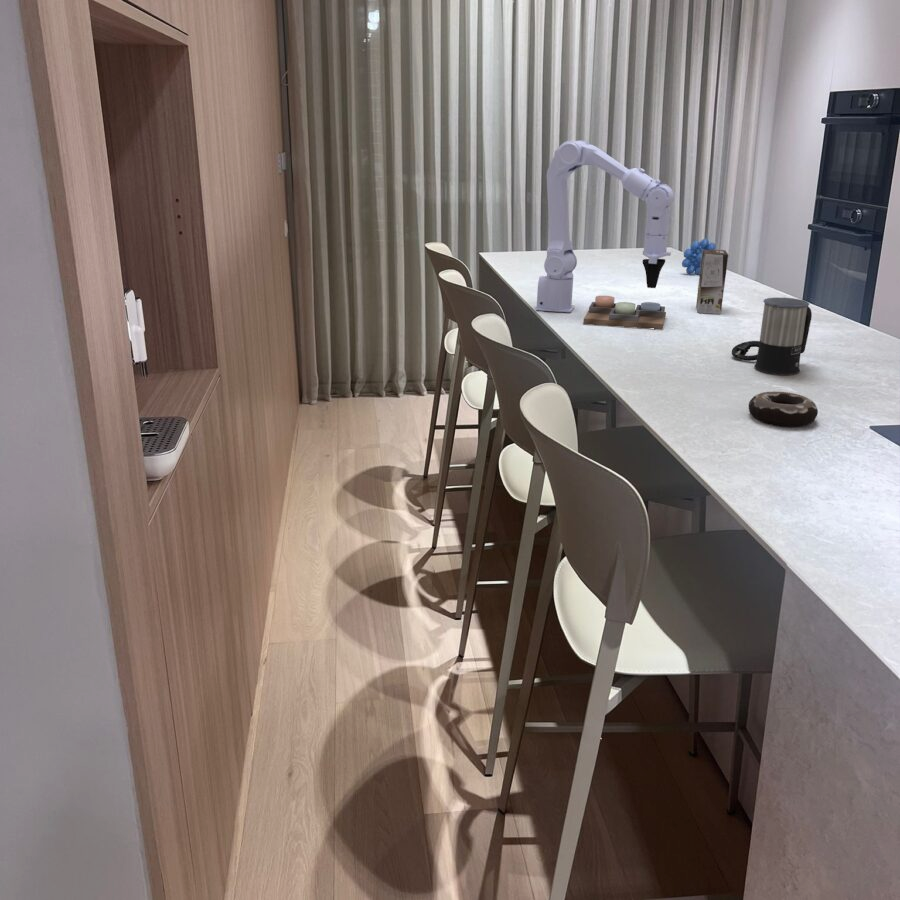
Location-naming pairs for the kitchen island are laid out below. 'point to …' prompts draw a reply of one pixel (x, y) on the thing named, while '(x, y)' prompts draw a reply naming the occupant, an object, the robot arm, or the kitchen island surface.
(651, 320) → the panel
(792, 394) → the donut
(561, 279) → the robot arm
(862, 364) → the kitchen island surface
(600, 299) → the button terracotta
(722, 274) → the coffee box
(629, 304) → the button sage
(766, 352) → the milk frother
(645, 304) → the button slate
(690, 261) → the grapes
